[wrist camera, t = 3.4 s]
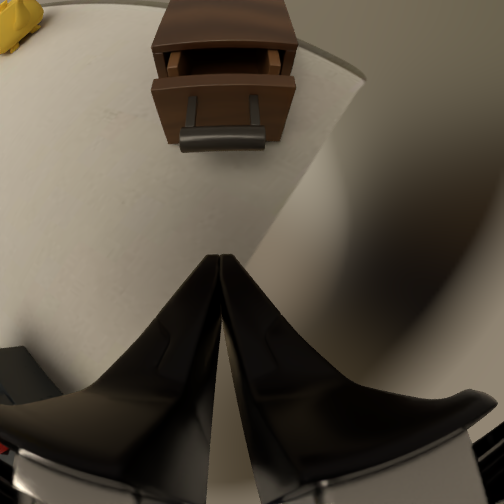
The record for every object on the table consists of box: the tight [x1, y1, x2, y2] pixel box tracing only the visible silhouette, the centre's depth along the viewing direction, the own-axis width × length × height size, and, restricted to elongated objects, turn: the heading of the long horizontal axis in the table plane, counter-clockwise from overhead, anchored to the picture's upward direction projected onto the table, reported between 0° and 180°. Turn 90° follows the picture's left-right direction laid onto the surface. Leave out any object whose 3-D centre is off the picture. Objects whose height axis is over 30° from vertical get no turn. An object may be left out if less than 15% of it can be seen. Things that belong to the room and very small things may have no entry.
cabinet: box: [151, 0, 298, 78], centre depth 20 cm, size 14×11×9 cm
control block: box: [0, 346, 63, 466], centre depth 13 cm, size 10×7×8 cm
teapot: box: [0, 0, 44, 54], centre depth 20 cm, size 14×20×13 cm
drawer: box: [151, 48, 296, 153], centre depth 19 cm, size 17×9×7 cm, turn 3°
